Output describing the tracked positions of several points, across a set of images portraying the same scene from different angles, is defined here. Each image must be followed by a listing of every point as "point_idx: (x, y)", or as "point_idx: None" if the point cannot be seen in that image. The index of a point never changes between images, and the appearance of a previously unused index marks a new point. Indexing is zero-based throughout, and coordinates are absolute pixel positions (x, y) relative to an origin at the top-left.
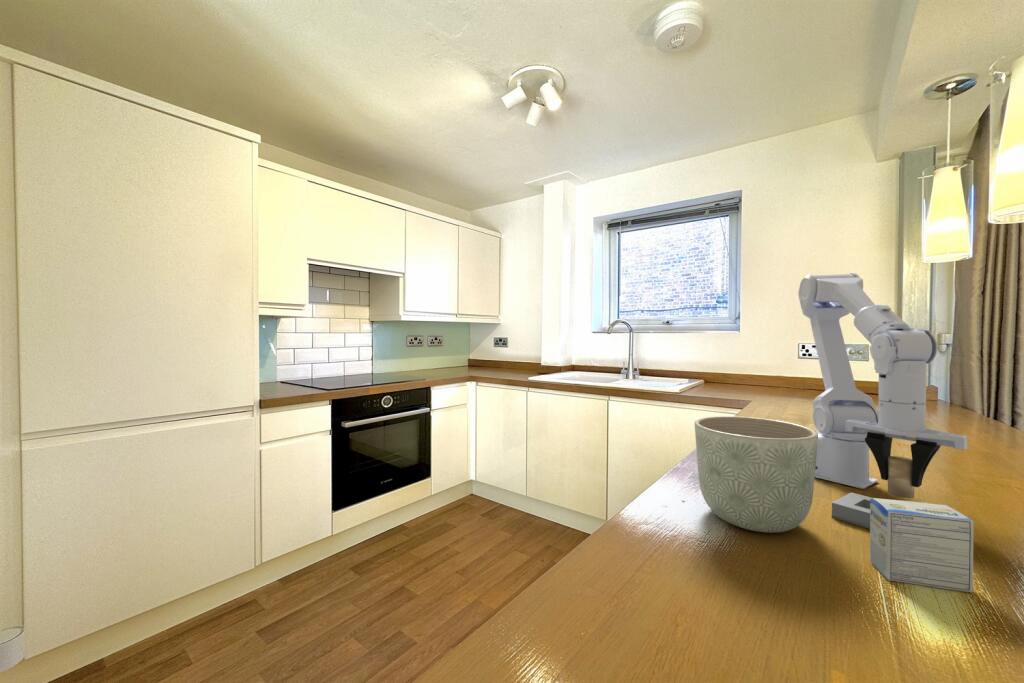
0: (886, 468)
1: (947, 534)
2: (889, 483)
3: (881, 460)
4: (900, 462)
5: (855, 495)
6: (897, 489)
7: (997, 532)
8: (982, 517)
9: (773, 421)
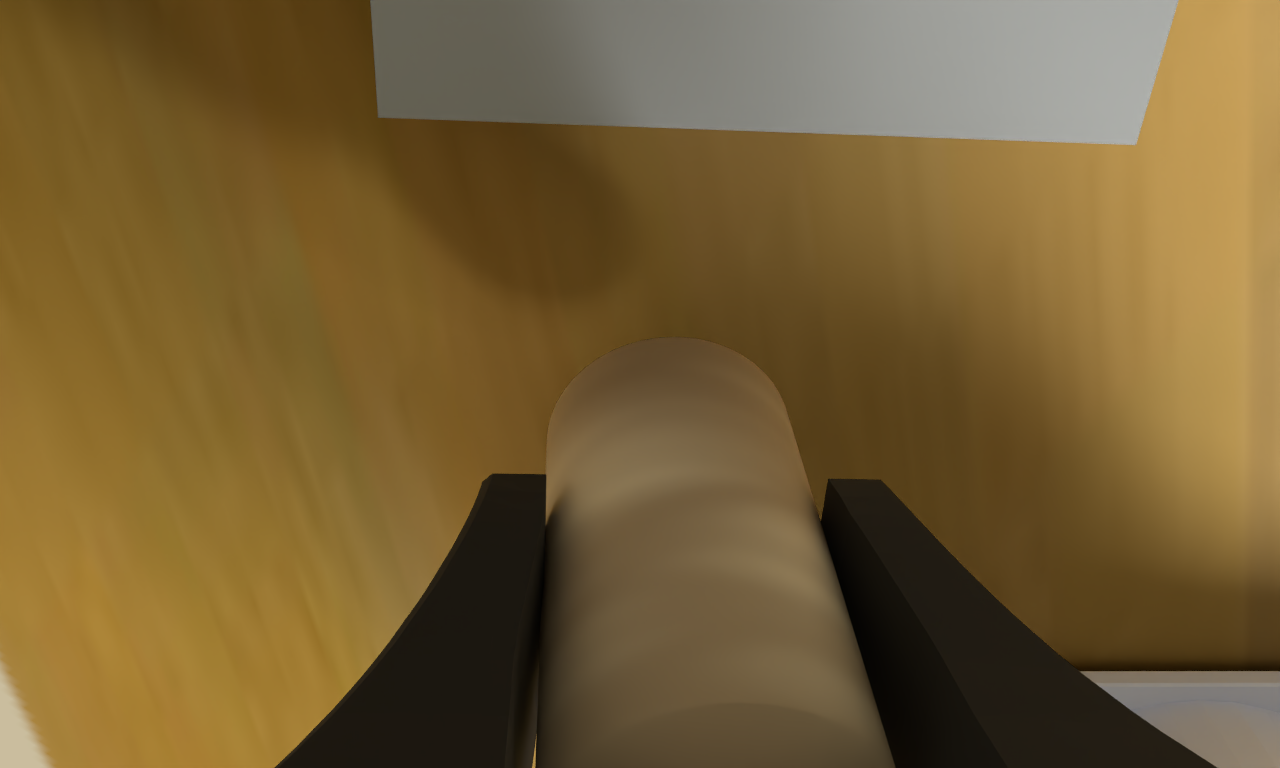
0: (870, 619)
1: None
2: (787, 450)
3: (974, 651)
4: (697, 687)
5: (1083, 44)
6: (688, 386)
7: (14, 468)
8: (212, 720)
9: None
